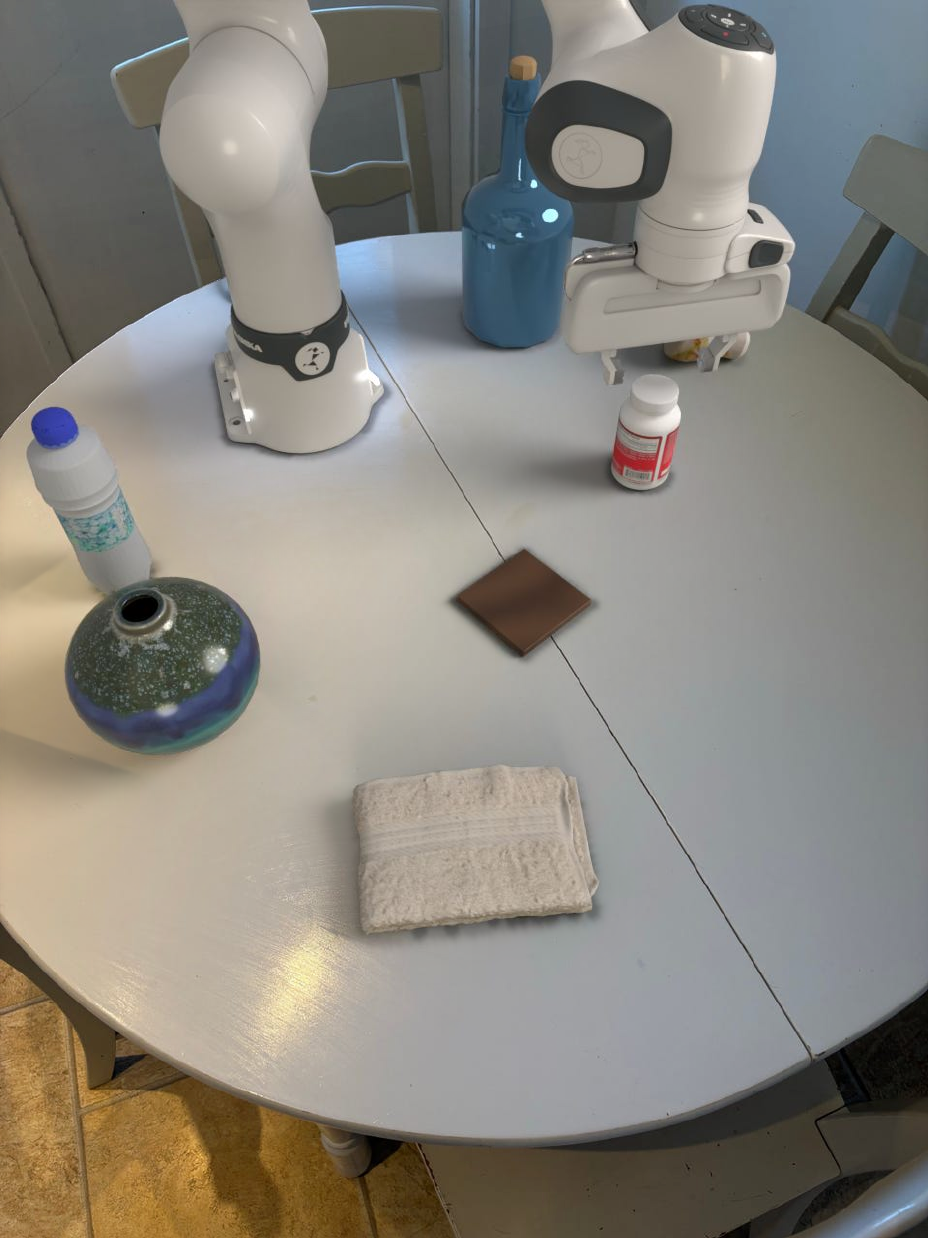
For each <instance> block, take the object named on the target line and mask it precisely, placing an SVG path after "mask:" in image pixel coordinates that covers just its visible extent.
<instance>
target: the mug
mask: <svg viewBox="0 0 928 1238" xmlns="http://www.w3.org/2000/svg"><path fill="white" fill-rule="evenodd" d="M714 337H715V336H713V337H706V338H698V339H691V340H683V341H676V342H668V343H663V353H664V355H665V356H666V357H668V358H670V359H672V360H674V361H678V362H683V363H684V362H685V363H686V362H695V361H696V362H697V358H698V357H699V355H698V353H699V348H705V347H708V345H709V344H710V343H711V341H712V340H713V339H714ZM750 343H751V335H750V332H744V333H738V336H737V340H736V342H735V343H734V344H733V345H732V346H731V347H730V348H729V350H728V351H727V352H726V353H725V354H724V355H723V356H722V357H721V358H726V359H730V360H737V359H739V358H740V357H742V356H743V355H744V354H745V353H746V352H747V350H748V348H749V345H750Z"/></svg>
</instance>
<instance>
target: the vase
mask: <svg viewBox="0 0 928 1238" xmlns="http://www.w3.org/2000/svg"><path fill="white" fill-rule="evenodd" d="M63 669H64V670H63V671H64V683H65V688H66V692H67V695H68V698H69V701H70V703H71V705H72V707H73V708H74V711H75V712H76V715H77V716H78V717H79V718H80V720H81V721H82V722H83V723H84V724H85V725H86V727H87V728H89V729H90V730H91V732H92V733H94V734H95V735H97V736H98V737H99V738H100V739H102V740H103V741H105V742H106V743H108V744H110V745H112V746H114V747H116V748H118V749H121V750H124V751H127V752H129V753H135V754H139V755H145V756H170V755H177V754H182V753H185V752H189V751H193V750H196V749H198V748H201V747H202V746H203V747H204V746H205V745H207V744H209V743H210V742H213V741H214V740H215V739H218V738H219V737H220V736H222V735H223V734H224V733H226V732H227V730H228V731H229V730H230V729H231V727H232V726H233V725H234V724H235V723H237V721H238V720H239V719H240V718H241V716H242V715H243V714H244V712H246V710H247V708H248V706H249V705H250V702H251V701H252V699H253V696H254V695H255V692H256V689H257V686H258V683H259V678H260V671H261V648H260V642H259V639H258V635H257V631H256V629H255V628H254V625H253V623H252V621H251V619H250V616H248V614H247V613H246V611H244V609H243V608H242V606H241V605H240V604H239V603H238V602H237V601H236V600H235V599H234V598H232V597H231V596H230V595H229V594H228V593H226V592H225V591H223V590H221V588H218V587H216V586H214V585H211V584H209V583H206V582H204V581H201V580H197V579H193V578H189V577H183V576H160V577H152V578H149V579H147V580H143V581H139V582H136V583H133V584H131V585H128V586H125V587H123V588H121V589H119V590H117V591H115V592H114V593H112V594H110V595H107V596H106V597H104V598H102V599H101V600H100V601H99V602H97V603H96V604H95V605H94V606H92V608H91V609H90V610H89V611H88V612H87V613H86V614H85V616H84V617H83V619H81V621H80V622H79V624H78V625H77V627H76V629H75V630H74V633H73V634H72V636H71V638H70V640H69V644H68V647H67V650H66V652H65V661H64V668H63Z"/></svg>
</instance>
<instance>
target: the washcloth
mask: <svg viewBox="0 0 928 1238" xmlns="http://www.w3.org/2000/svg"><path fill="white" fill-rule="evenodd" d="M352 792H353V797H352V804H353V809H354V810H353V811H354V812H353V816H354V821H355V825H356V826H355V827H356V828H357V835H358V836H359V850H360V852H359V858H360V863H359V864H358V866H357V871H358V873H357V886H358V890H357V894H358V901H359V922H360V923H359V924H360V927H361V930H362V932H365V935H366V936H368V935H369V934H377V933H383V932H395V933H398V932H399V933H400V931H401V930H407V931H410V930H411V931H412V930H415V929H419V928H420V929H421V928H426V927H438V926H441V927H443V926H457V925H458V924H465V925H469V924H472V925H473V924H474V923H481V922H488V921H493V920H494V919H498V920H499V919H500V920H501V919H502V920H503V919H514V918H516V917H517V918H518V917H521V918H523V917H527V916H528V917H546V916H556V915H560V914H561V915H562V914H566V915H568V914H574V913H576V914H582V913H583V914H584V913H587V912H591V911H592V909H593V898H592V897H593V896H594V895H595V893H596V891H597V889H598V887H599V884H600V880H599V879H598V876H597V875H596V873H595V871H594V867H593V866H594V865H593V862H592V859H591V852H590V846H589V842H588V836H587V831H586V825H585V820H584V815H583V809H582V805H581V798H580V794H579V788H578V783H577V777H576V776H573V775H565V774H564V772H563V771H562V770H561V769H560V768H559V767H556V766H551V765H544V766H543V765H536V766H516V765H515V766H508V765H505V764H503V763H495V764H491V765H487V766H481V767H472V768H467V769H457V770H454V769H453V770H443V771H442V770H437V771H435V772H425V773H422V774H416V775H415V774H413V775H404V776H403V775H402V776H391V777H384V778H383V777H382V778H381V777H380V778H375V779H372V780H370V781H366V782H364V783H361V784H357V785H356V786H355V787H354V788H353V791H352Z"/></svg>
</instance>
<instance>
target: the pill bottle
mask: <svg viewBox="0 0 928 1238" xmlns="http://www.w3.org/2000/svg"><path fill="white" fill-rule="evenodd" d="M679 394H680V388H679V386H678V384H677V382H676V381H675V380H673V379H672V378H670V377H668V376H665V375H663V374H658V373H657V374H654V373H651V374H644V375H640V376H638V377H637V378H635V379H634V381H633V382H632V383H631V387H630V392H629V396H628V397H627V398H626V399H625V400H624V401H623V402H622V404H621V405H620V408H619V412H618V418H617V425H616V432H615V438H614V443H613V450H612V451H613V452H612V457H611V464H610V470H611V473H612V476H613V477H614V479H615V480H616V481H617V482H618V483H619V484H621V486H624V487H625V488H627V489H631V490H636V491H647V490H651V489H655V488H657V487H660V486H661V485H662V484H663V483H664V482H666V480H667V478H668V476H669V473H670V469H671V466H672V460H673V455H674V452H675V447H676V442H677V438H678V433H679V428H680V424H681V418H682V414H681V409H680V407H679V405H678V401H679Z"/></svg>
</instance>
